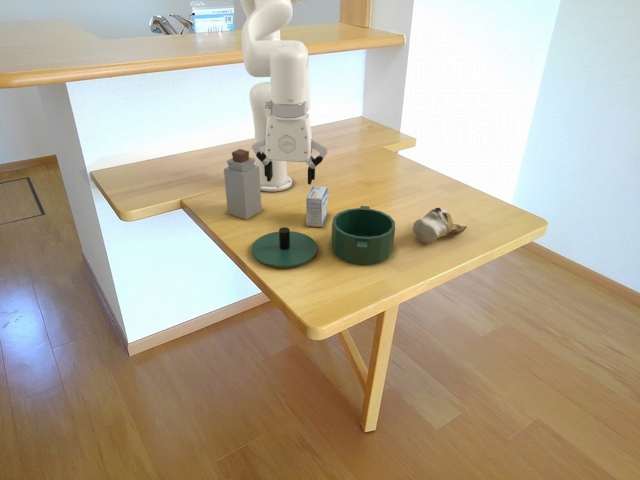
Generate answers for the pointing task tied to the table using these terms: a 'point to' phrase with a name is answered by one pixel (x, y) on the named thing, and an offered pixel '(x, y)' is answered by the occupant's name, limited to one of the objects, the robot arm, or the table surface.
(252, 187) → the perfume bottle
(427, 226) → the ceramic sculpture
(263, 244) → the lid
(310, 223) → the medicine box
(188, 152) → the table surface
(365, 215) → the pot
